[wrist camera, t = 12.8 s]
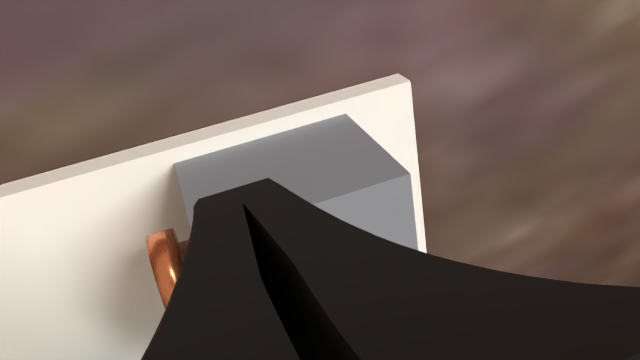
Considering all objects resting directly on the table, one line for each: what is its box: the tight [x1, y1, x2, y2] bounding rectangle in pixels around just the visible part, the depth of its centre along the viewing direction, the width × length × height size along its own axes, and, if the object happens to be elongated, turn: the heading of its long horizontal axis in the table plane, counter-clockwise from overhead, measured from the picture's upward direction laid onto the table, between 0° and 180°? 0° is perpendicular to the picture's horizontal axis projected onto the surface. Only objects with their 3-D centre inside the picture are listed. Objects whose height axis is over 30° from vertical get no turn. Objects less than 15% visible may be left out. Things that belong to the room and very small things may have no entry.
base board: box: [0, 74, 427, 360], centre depth 22 cm, size 19×13×1 cm
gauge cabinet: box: [174, 114, 418, 250], centre depth 19 cm, size 6×5×5 cm
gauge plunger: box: [146, 227, 189, 310], centre depth 19 cm, size 6×3×3 cm, turn 100°
